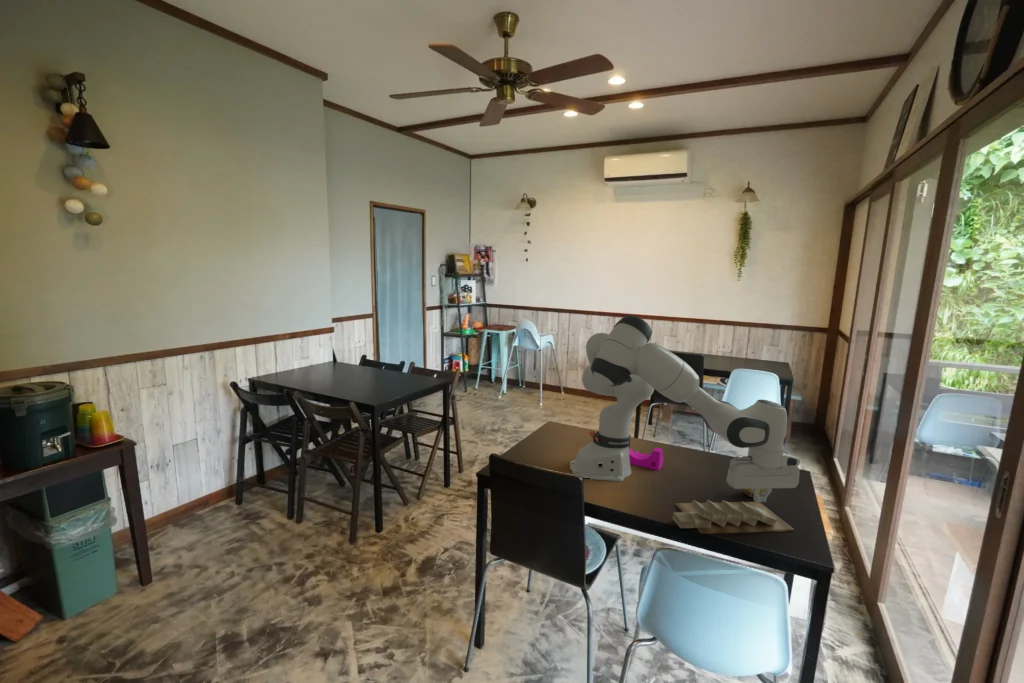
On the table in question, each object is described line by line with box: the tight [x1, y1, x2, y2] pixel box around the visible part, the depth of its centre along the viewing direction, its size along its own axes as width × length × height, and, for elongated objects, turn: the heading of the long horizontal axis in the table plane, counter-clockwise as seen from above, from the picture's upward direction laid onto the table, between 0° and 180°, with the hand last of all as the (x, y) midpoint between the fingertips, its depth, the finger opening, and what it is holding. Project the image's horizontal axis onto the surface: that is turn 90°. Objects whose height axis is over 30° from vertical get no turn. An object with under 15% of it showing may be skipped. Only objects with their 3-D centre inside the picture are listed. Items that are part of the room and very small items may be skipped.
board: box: [674, 501, 795, 535], centre depth 137 cm, size 28×16×1 cm, turn 96°
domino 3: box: [704, 499, 741, 526], centre depth 132 cm, size 2×5×9 cm
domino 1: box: [672, 511, 711, 529], centre depth 132 cm, size 2×5×9 cm
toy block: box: [629, 447, 664, 471], centre depth 174 cm, size 15×6×8 cm, turn 59°
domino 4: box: [719, 499, 758, 526], centre depth 133 cm, size 2×5×9 cm
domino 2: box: [690, 499, 727, 527], centre depth 132 cm, size 2×5×9 cm
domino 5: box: [738, 501, 777, 526], centre depth 133 cm, size 2×5×9 cm
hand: (759, 501), depth 133 cm, fingers closed
